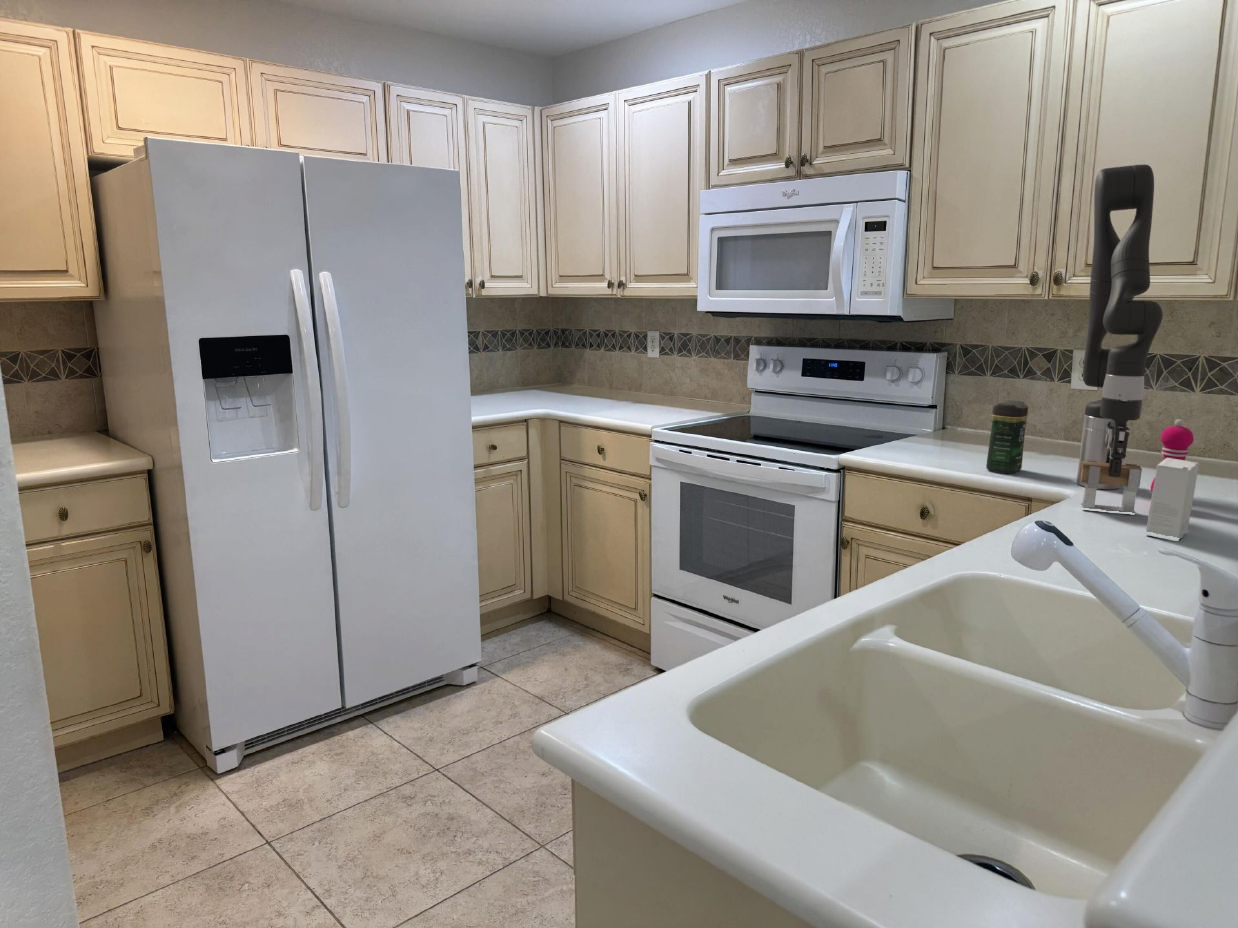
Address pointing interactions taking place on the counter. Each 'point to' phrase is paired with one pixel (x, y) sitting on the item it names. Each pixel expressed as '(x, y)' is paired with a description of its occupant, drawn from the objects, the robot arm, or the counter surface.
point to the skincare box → (1172, 497)
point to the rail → (1104, 476)
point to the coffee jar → (1007, 437)
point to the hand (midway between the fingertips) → (1112, 473)
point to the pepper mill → (1175, 442)
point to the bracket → (1128, 493)
